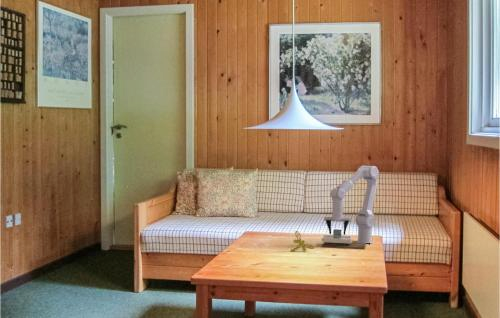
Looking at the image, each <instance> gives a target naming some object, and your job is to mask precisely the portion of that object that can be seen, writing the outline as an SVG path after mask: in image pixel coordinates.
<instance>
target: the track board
mask: <svg viewBox="0 0 500 318" xmlns="http://www.w3.org/2000/svg"><path fill="white" fill-rule="evenodd" d="M366 245H367V244H366V243H357V242H352V243H348V245H346V244H345V243H332V242H328V244H326V243H325V242H322V244H321V248H332V249H334V248H335V249H336V248H337V249H351V250H352V249H353V250H366Z"/></svg>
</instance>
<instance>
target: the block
mask: <svg viewBox="0 0 500 318" xmlns="http://www.w3.org/2000/svg"><path fill="white" fill-rule="evenodd" d="M332 233H333V238H337V239H341V236H342V229H337V228H335V229H333V231H332Z"/></svg>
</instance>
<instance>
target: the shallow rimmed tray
mask: <svg viewBox="0 0 500 318" xmlns="http://www.w3.org/2000/svg"><path fill="white" fill-rule="evenodd" d="M353 238H354V237H353V236H352V235H349V236H348V235H341V239H337V238H333V235H331V234H324V235H323V237H321V243H324V242H325V243H326V244H328V242H332V243H345V244H346V245H348V243H353Z"/></svg>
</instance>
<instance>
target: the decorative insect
mask: <svg viewBox="0 0 500 318" xmlns="http://www.w3.org/2000/svg"><path fill="white" fill-rule="evenodd" d="M294 235H295V237H296V239H293V242H292V243H294V244H297V246H295V248H291V249H290V252H295V251H296V250H298V249H300V247H301V249H302V251H303V252H306V250H307V249H310V250H313V249H315V245H313V244H312V243H308V244H307V243H305V242H306V240H304V239H302V235H301V234H300V232H299V230H295V232H294Z"/></svg>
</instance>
